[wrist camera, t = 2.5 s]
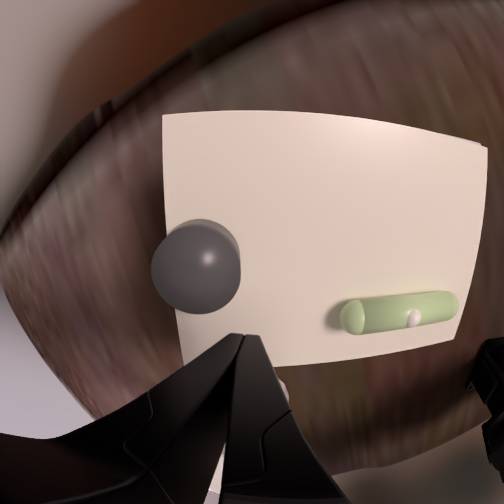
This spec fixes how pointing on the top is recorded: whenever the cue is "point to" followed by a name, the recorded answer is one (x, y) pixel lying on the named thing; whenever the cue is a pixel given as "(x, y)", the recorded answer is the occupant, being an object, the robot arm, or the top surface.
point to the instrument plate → (316, 233)
